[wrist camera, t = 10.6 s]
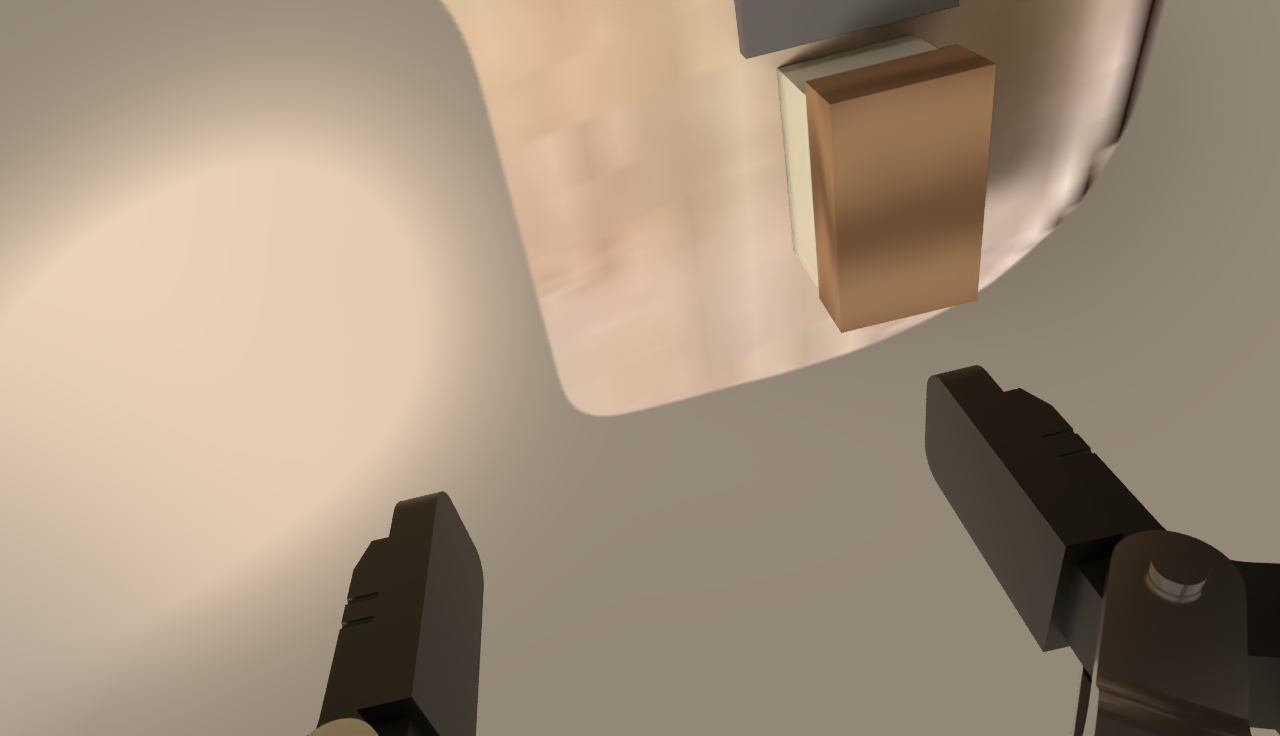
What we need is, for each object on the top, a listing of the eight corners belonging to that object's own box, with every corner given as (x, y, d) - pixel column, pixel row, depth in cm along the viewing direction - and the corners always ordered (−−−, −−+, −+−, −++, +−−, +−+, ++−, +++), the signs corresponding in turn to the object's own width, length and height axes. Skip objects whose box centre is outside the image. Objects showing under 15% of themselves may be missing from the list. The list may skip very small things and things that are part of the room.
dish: (777, 68, 33) (804, 95, 29) (912, 34, 32) (955, 57, 29) (793, 249, 38) (818, 289, 35) (910, 221, 38) (945, 258, 35)
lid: (804, 81, 29) (830, 104, 27) (956, 44, 29) (996, 64, 27) (819, 297, 35) (841, 332, 33) (945, 267, 35) (977, 300, 32)
